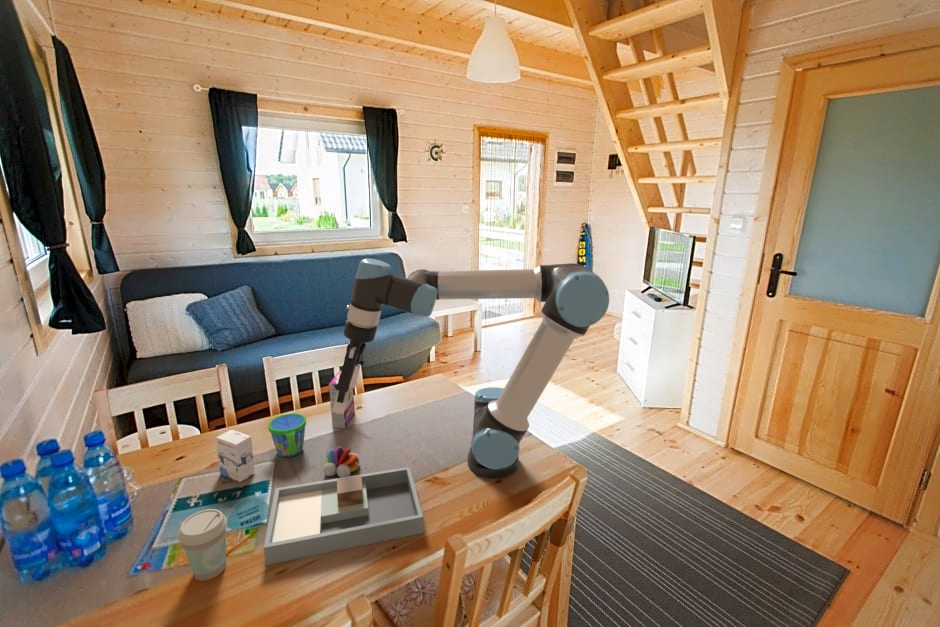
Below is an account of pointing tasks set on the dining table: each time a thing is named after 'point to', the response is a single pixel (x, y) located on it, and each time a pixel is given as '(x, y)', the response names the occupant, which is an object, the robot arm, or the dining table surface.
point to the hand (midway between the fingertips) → (344, 398)
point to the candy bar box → (344, 419)
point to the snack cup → (288, 434)
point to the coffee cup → (205, 543)
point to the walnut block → (349, 491)
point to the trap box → (341, 516)
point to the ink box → (235, 455)
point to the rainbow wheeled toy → (340, 462)
